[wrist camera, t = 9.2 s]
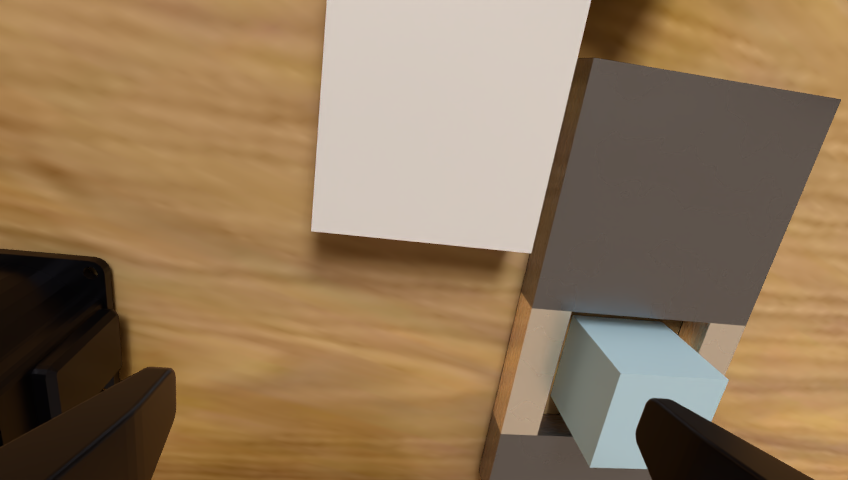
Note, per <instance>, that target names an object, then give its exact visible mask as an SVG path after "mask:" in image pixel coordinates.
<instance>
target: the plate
mask: <svg viewBox="0 0 848 480" xmlns="http://www.w3.org/2000/svg"><path fill="white" fill-rule="evenodd" d="M840 101H841V99H835V98H829V97H824V96H818V95H812V94H806V93H800V92H794V91H788V90H782V89H776V88H770V87H764V86H759V85H753V84H747V83H741V82H735V81H729V80H723V79H717V78H711V77H705V76H700V75H694V74H688V73H682V72H676V71H670V70H664V69H658V68H652V67H646V66H640V65H635V64H629V63H623V62H617V61H611V60H605V59H599V58H578V59H577V62H576V66H575V71H574V75H573V79H572V83H571V88H570V92H569V96H568V100H567V105H566V109H565V113H564V117H563V121H562V126H561V130H560V134H559V138H558V143H557V147H556V151H555V155H554V159H553V164H552V168H551V172H550V176H549V181H548V185H547V189H546V193H545V198H544V202H543V206H542V210H541V214H540V219H539V223H538V227H537V231H536V236H535V240H534V244H533V248H532V252H531V253H530V256H529V261H528V265H527V269H526V273H525V278H524V282H523V286H522V290H521V295H520V299H519V303H518V307H517V312H516V316H515V320H514V324H513V329H512V333H511V337H510V341H509V345H508V350H507V354H506V358H505V362H504V367H503V371H502V375H501V379H500V384H499V388H498V392H497V396H496V401H495V405H494V409H493V413H492V418H491V422H490V426H489V430H488V435H487V439H486V443H485V447H484V452H483V456H482V460H481V464H480V468H479V473H480V477H481V480H652V479H651V477H650V474H649V472H648V469H625V468H590V467H589V465H588V464H587V462H586V460H585V458H584V456H583V454H582V453H581V451H580V449H579V447H578V445H577V443H576V442H575V440H574V438H573V436H572V434H571V432H570V431H569V429H568V427H567V425H566V423H565V421H564V420H563V418H562V416H561V415H556V414H543V412H544V409H545V405H546V402H547V398H548V395H549V391H550V387H551V384H552V380H553V377H554V373H555V369H556V366H557V362H558V359H559V355H560V352H561V348H562V344H563V341H564V337H565V334H566V330H567V327H568V323H569V319H570V316H571V312H582V313H595V314H607V315H619V316H631V317H643V318H655V319H667V320H679V321H683V324H682V326H681V329H680V332H679V334H678V336H679V337H680V338H681V339H682V340H684V341H685V342H686V343H687V344H688V345H689V346H690V347H692V348H693V349H694V350H695V351H696V352H697V353H698V354H700V355H701V356H702V357H703V358H704V359H705V360H707V361H708V362H709V363H710V364H711V365H712V366H713V367H715V368H716V369H717V370H718V371H719V372H720V373H721V374H723V375H724V376H725V374H726V371H727V369H728V366H729V364H730V362H731V359H732V357H733V355H734V352H735V350H736V347H737V345H738V343H739V340H740V338H741V336H742V333H743V331H744V329H745V326H746V324H747V321H748V319H749V317H750V314H751V312H752V310H753V307H754V305H755V302H756V300H757V298H758V295H759V293H760V291H761V288H762V286H763V284H764V281H765V279H766V276H767V274H768V272H769V269H770V267H771V265H772V262H773V260H774V258H775V255H776V253H777V250H778V248H779V246H780V243H781V241H782V239H783V236H784V234H785V231H786V229H787V227H788V224H789V222H790V220H791V217H792V215H793V213H794V210H795V208H796V205H797V203H798V201H799V198H800V196H801V194H802V191H803V189H804V186H805V184H806V182H807V179H808V177H809V175H810V172H811V170H812V168H813V165H814V163H815V160H816V158H817V156H818V153H819V151H820V149H821V146H822V144H823V141H824V139H825V137H826V134H827V132H828V130H829V127H830V125H831V123H832V120H833V118H834V115H835V113H836V111H837V108H838V106H839V104H840Z"/></svg>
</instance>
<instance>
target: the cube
mask: <svg viewBox="0 0 848 480" xmlns="http://www.w3.org/2000/svg"><path fill="white" fill-rule="evenodd" d="M728 381H729V380H728V379H727V378H726V377H725V376H724V375H723V374H721V373H720V372H719V371H718V370H717V369H716V368H715V367H713V366H712V365H711V364H710V363H709V362H708V361H707V360H705V359H704V358H703V357H702V356H701V355H700V354H698V353H697V352H696V351H695V350H694V349H693V348H692V347H690V346H689V345H688V344H687V343H686V342H685V341H684V340H682V339H681V338H680V337H679V336H678V335H677V334H676V333H674V332H673V331H672V330H671V329H670V328H669V327H667V326H666V325H665V324H664V323H663V322H659V321H646V320H633V319H620V318H607V317H594V316H581V315H573V316H572V320H571V323H570V327H569V330H568V334H567V338H566V341H565V345H564V349H563V352H562V356H561V359H560V363H559V367H558V370H557V374H556V377H555V381H554V385H553V388H552V392H551V398H552V399H553V401H554V403H555V405H556V407H557V409H558V410H559V412H560V414H561V416H562V418H563V420H564V421H565V423H566V425H567V427H568V429H569V431H570V432H571V434H572V436H573V438H574V440H575V442H576V443H577V445H578V447H579V449H580V451H581V453H582V454H583V456H584V458H585V460H586V462H587V464H588V465H589V467H590V468H625V469H647V467H646V464H645V462H644V460H643V457H642V455H641V452H640V450H639V448H638V445H637V442H636V436H635V433H636V428H637V425H638V423H639V420H640V417H641V415H642V412H643V409H644V407H645V404H646V402H647V401H648V400H649V399H651V398H663V399H671V400H673V401H675V402H677V403H678V404H680V405H682V406H684V407H686V408H687V409H689V410H691V411H693V412H695V413H696V414H698V415H700V416H702V417H703V418H705V419H707V420H709V421H712V418H713V416H714V414H715V411H716V409H717V407H718V404H719V402H720V400H721V397H722V395H723V392H724V390H725V388H726V385H727V383H728Z"/></svg>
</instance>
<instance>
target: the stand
mask: <svg viewBox="0 0 848 480" xmlns="http://www.w3.org/2000/svg"><path fill="white" fill-rule="evenodd" d="M590 3H591V0H327V7H326V22H325V36H324V51H323V65H322V80H321V95H320V109H319V124H318V138H317V153H316V167H315V182H314V197H313V211H312V226H311V231H314V232H324V233H334V234H344V235H354V236H364V237H374V238H383V239H393V240H403V241H413V242H423V243H433V244H443V245H453V246H463V247H473V248H483V249H493V250H503V251H513V252H522V253H531V252H532V248H533V244H534V240H535V236H536V231H537V227H538V223H539V219H540V214H541V210H542V206H543V202H544V198H545V193H546V189H547V185H548V181H549V176H550V172H551V168H552V164H553V159H554V155H555V151H556V147H557V143H558V138H559V134H560V130H561V126H562V121H563V117H564V113H565V109H566V105H567V100H568V96H569V92H570V88H571V83H572V79H573V75H574V71H575V66H576V62H577V58H578V54H579V50H580V45H581V41H582V37H583V33H584V28H585V24H586V20H587V16H588V12H589V7H590Z"/></svg>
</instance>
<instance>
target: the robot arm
mask: <svg viewBox="0 0 848 480" xmlns="http://www.w3.org/2000/svg"><path fill="white" fill-rule="evenodd" d="M89 267H92V268H94V269H95V270H97V273H98V275H95V274H93V273H91V272H90V270H89ZM121 367H122V354H121V342H120V330H119V317H118V314H117V313H116V311H115V310H114V309H113V298H112V286H111V274H110V268H109V265H108V264H107V263H106V262H105V261H104V260H102V259H101V258H97V257H89V256H78V255H66V254H55V253H43V252H31V251H20V250H8V249H0V480H151V478H152V476H153V473H154V471H155V468H156V465H157V463H158V460H159V458H160V455H161V452H162V450H163V447H164V445H165V442H166V440H167V437H168V434H169V432H170V429H171V427H172V424H173V421H174V418H175V413H176V376H175V372H174V370H173V369H172V368H163V367H147V368H145V369H143V370H141V371H139V372H137V373H135V374H133V375H132V376H130V377H128V378H126V379H124V380H122V381H121V382H119V369H120V368H121ZM103 388H105V389H106V390H103ZM635 436H636V442H637V445H638V448H639V450H640V452H641V455H642V457H643V460H644V462H645V464H646V467H647V469H648V472H649V474H650V477H651V479H652V480H814V479H812V478H810V477H809V476H807V475H805V474H803V473H801V472H800V471H798V470H796V469H794V468H793V467H791V466H789V465H787V464H785V463H784V462H782V461H780V460H778V459H777V458H775V457H773V456H771V455H769V454H768V453H766V452H764V451H762V450H760V449H759V448H757V447H755V446H753V445H752V444H750V443H748V442H746V441H744V440H743V439H741V438H739V437H737V436H736V435H734V434H732V433H730V432H728V431H727V430H725V429H723V428H721V427H719V426H718V425H716V424H714V423H712V422H711V421H709V420H707V419H705V418H703V417H702V416H700V415H698V414H696V413H695V412H693V411H691V410H689V409H687V408H686V407H684V406H682V405H680V404H678V403H677V402H675V401H673V400H671V399H663V398H651V399H649V400H648V401H647V402H646V404H645V407H644V409H643V412H642V415H641V417H640V420H639V423H638V425H637V428H636V433H635Z"/></svg>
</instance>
